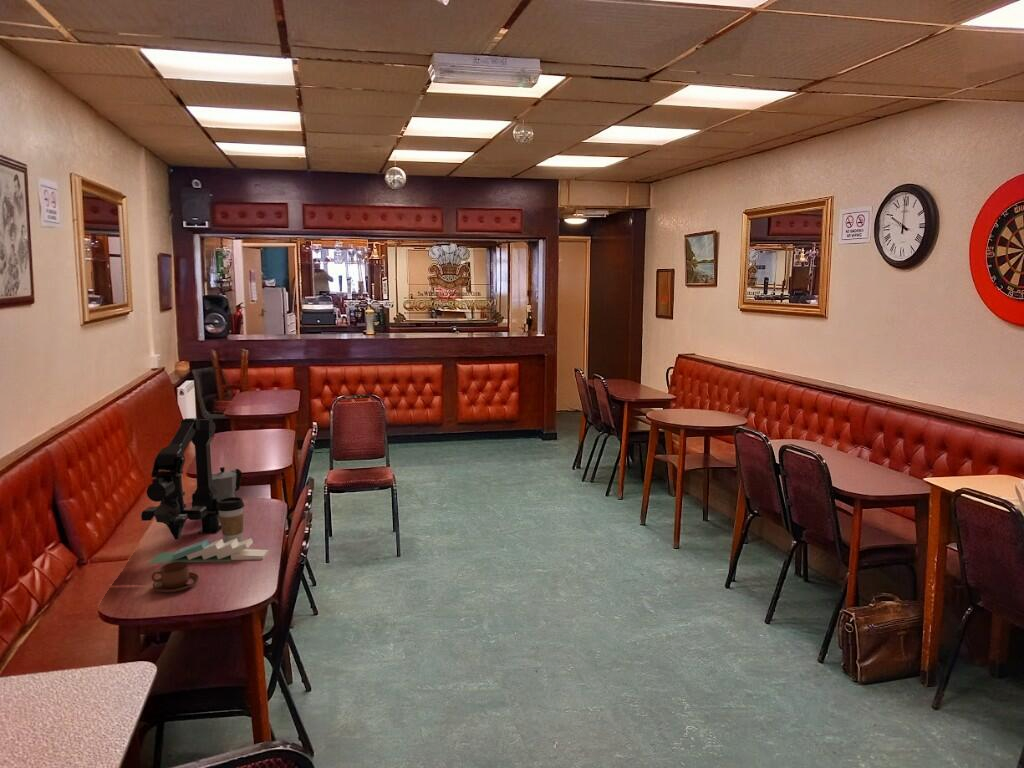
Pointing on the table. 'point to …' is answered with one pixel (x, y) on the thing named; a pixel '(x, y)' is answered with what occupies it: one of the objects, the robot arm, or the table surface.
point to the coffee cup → (231, 518)
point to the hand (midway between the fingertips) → (177, 539)
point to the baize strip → (169, 558)
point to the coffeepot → (226, 483)
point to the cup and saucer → (174, 577)
